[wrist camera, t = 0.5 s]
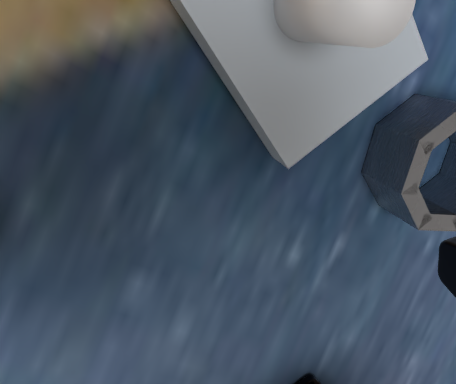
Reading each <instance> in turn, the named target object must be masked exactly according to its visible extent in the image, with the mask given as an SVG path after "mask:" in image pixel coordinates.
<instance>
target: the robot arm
mask: <svg viewBox="0 0 456 384" xmlns="http://www.w3.org/2000/svg"><path fill="white" fill-rule="evenodd" d="M438 275H439V277H440V279H441V281H442V283H443V284H444V285H445V286H446V287H447V288H448V289H449V291H450V292H451V293H452V294H453V295H454V296H455V297H456V237H453V238H450V239H447V240H444V241H443V242H441V244H440V246H439V260H438ZM297 384H321V383H320V382H319V381H318V380H317V379H316V377H315V376H314V375H308V376H306V377H305V378H303V379H302V380H301V381H300V382H298V383H297Z"/></svg>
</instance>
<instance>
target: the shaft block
mask: <svg viewBox="0 0 456 384" xmlns="http://www.w3.org/2000/svg"><path fill="white" fill-rule="evenodd" d="M415 1H416V0H170V2H171V3H172V5H173V6H174V8H175V9H176V11H177V12H178V14H179V15H180V17H181V18H182V20H183V21H184V23H185V24H186V26H187V28H188V29H189V31H190V32H191V34H192V35H193V37H194V38H195V40H196V41H197V43H198V44H199V46H200V47H201V49H202V50H203V52H204V53H205V55H206V57H207V58H208V60H209V61H210V63H211V64H212V66H213V67H214V69H215V70H216V72H217V73H218V75H219V76H220V78H221V79H222V81H223V83H224V84H225V86H226V87H227V89H228V90H229V92H230V93H231V95H232V96H233V98H234V99H235V101H236V102H237V104H238V105H239V107H240V108H241V110H242V112H243V113H244V115H245V116H246V118H247V119H248V121H249V122H250V124H251V125H252V127H253V128H254V130H255V131H256V133H257V134H258V136H259V137H260V139H261V141H262V142H263V144H264V145H265V147H266V148H267V150H268V151H269V153H270V154H271V156H272V157H273V158H274V159H276V160H277V161H278V162H280V163H281V164H282V165H284V166H285V167H287V168H288V169H289V168H290V167H291V166H293V165H294V164H295V163H297V162H298V161H299V160H300V159H302V158H303V157H304V156H306V155H307V154H308V153H309V152H311V151H312V150H313V149H314V148H316V147H317V146H318V145H320V144H321V143H322V142H323V141H325V140H326V139H327V138H329V137H330V136H331V135H332V134H334V133H335V132H336V131H337V130H339V129H340V128H341V127H343V126H344V125H345V124H346V123H348V122H349V121H350V120H351V119H353V118H354V117H355V116H357V115H358V114H359V113H360V112H362V111H363V110H364V109H366V108H367V107H368V106H369V105H371V104H372V103H373V102H374V101H376V100H377V99H378V98H380V97H381V96H382V95H383V94H385V93H386V92H387V91H389V90H390V89H391V88H392V87H394V86H395V85H396V84H397V83H399V82H400V81H401V80H403V79H404V78H405V77H406V76H408V75H409V74H410V73H412V72H413V71H414V70H415V69H417V68H418V67H419V66H420V65H422V64H423V63H424V62H426V61H427V60H428V57H427V55H426V52H425V49H424V46H423V43H422V40H421V38H420V35H419V32H418V29H417V26H416V23H415V21H414V18H413V15H412V12H413V10H414V6H415Z"/></svg>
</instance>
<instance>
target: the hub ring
mask: <svg viewBox="0 0 456 384" xmlns="http://www.w3.org/2000/svg"><path fill="white" fill-rule="evenodd" d="M448 137H449V138H450V141H451V143H450V146H449V149H448V151H447V154H446V157H445V160H444V162H443V165H442V168H441V171H440V173H439V174H438V175H437V176H435V177H434V178H433V179H432V180H430V181H429V182H428V183H426V184H425V185H424V186H423V187H421V188H420V189H419V185H420V182H421V179H422V176H423V174H424V171H425V168H426V165H427V162H428V159H429V157H430V154H431V151H432V150H433V149H434V148H435V147H436V146H438V145H439V144H440V143H441V142H443V141H444V140H445V139H446V138H448ZM362 174H363V176H364V178H365V180H366V182H367V184H368V185H369V187H370V189H371V191H372V193H373V195H374V197H375V199H376V201H377V203H378V204H379V206H381V207H383V208H384V209H386V210H387V211H389V212H390V213H392V214H394V215H395V216H397V217H398V218H400V219H402V220H403V221H405V222H406V223H408V224H410V225H411V226H413V227H414V228H416V229H418V230H433V231H456V101H451V100H445V99H440V98H434V97H429V96H423V95H418V94H414V95H413V96H412V97H411V98H409V99H408V100H407V101H406V102H404V103H403V104H402V105H400V106H399V107H398V108H397V109H395V110H394V111H393V112H392V113H390V114H389V115H388V116H386V117H385V118H384V119H383V120H381V121H380V122H379V123H378V124H376V126H375V129H374V133H373V136H372V139H371V143H370V146H369V149H368V153H367V156H366V159H365V163H364V166H363V169H362Z"/></svg>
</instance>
